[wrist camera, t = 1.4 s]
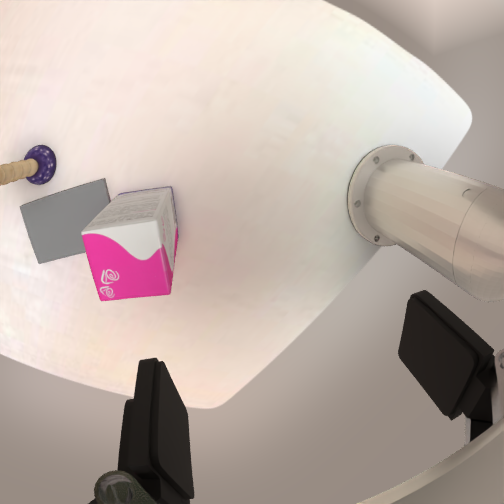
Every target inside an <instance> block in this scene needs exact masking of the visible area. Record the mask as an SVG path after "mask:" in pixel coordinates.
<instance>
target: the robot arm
mask: <svg viewBox="0 0 504 504" xmlns="http://www.w3.org/2000/svg"><path fill="white" fill-rule="evenodd" d="M348 209H349V215H350V218H351V220H352V223H353V225H354V227H355V228H356V230H357V231H358V232H359V234H360V235H361V236H362V237H364V238H365V239H366V240H368V241H369V242H371V243H373V244H375V245H380V246H391V245H396V244H398V245H399V246H401V247H402V248H404V249H405V250H407V251H408V252H410V253H411V254H413V255H414V256H416V257H417V258H419V259H420V260H422V261H423V262H425V263H426V264H427V265H429V266H430V267H432V268H433V269H435V270H436V271H437V272H439V273H440V274H442V275H443V276H444V277H446V278H447V279H449V280H450V281H451V282H453V283H454V284H455V285H457V286H458V287H460V288H461V289H463V290H464V291H465V292H467V293H468V294H469V295H471V296H473V297H474V298H477V299H479V300H482V301H486V302H495V301H501V300H504V189H502V188H499V187H496V186H493V185H490V184H487V183H484V182H481V181H478V180H475V179H472V178H469V177H466V176H463V175H459V174H456V173H453V172H449V171H445V170H442V169H439V168H435V167H431V166H427V165H425V164H424V163H423V161H422V160H421V158H420V157H419V156H418V155H417V154H416V153H415V152H413V151H412V150H410V149H408V148H405V147H402V146H397V145H386V146H382V147H379V148H377V149H375V150H373V151H372V152H370V153H369V154H368V155H367V156H366V157H364V158H363V160H362V161H361V162H360V164H359V165H358V166H357V168H356V170H355V172H354V174H353V176H352V179H351V182H350V186H349V192H348ZM493 352H494V349H493V348H491V346H489V345H488V344H487V343H486V342H485V341H484V340H483V339H482V338H481V337H480V336H479V335H478V334H476V333H475V332H474V331H473V330H472V329H471V328H470V327H469V326H468V325H466V324H465V323H464V322H463V321H462V320H461V319H459V318H458V317H457V316H456V315H455V314H454V313H453V312H452V311H450V310H449V309H448V308H447V307H446V306H445V305H443V304H442V303H441V302H440V301H439V300H437V299H436V298H435V297H434V296H433V295H432V294H430V293H429V292H428V291H426V290H423V291H420V292H417V293H414V294H412V295H411V297H410V299H409V300H408V303H407V309H406V314H405V320H404V326H403V331H402V336H401V341H400V346H399V350H398V354H399V358H400V359H401V361H402V362H403V363H404V364H405V366H406V367H407V368H408V369H409V371H410V372H411V373H412V374H413V376H414V377H415V378H416V379H417V381H418V382H419V383H420V385H421V386H422V387H423V388H424V390H425V391H426V392H427V394H428V395H429V396H430V398H431V399H432V400H433V401H434V403H435V404H436V405H437V407H438V408H439V409H440V411H441V412H442V413H443V414H444V415H445V416H448V417H449V418H450V419H451V420H453V419H455V418H456V417H458V416H459V415H461V414H462V412H463V413H464V414H465V416H466V417H465V442H464V447H463V448H462V449H460V450H458V451H457V452H455V453H454V454H452V455H451V456H449V457H448V458H446V459H444V460H443V461H442V462H439V463H438V464H436V465H435V466H433V467H431V468H430V469H428V470H426V471H424V472H422V473H421V474H419V475H417V476H415V477H413V478H411V479H410V480H408V481H406V482H404V483H402V484H400V485H398V486H396V487H394V488H392V489H389V490H387V491H385V492H383V493H381V494H378V495H376V496H374V497H372V498H369V499H367V500H364V501H362V502H360V503H357V504H504V349H502V350H500V351H499V352H498V353H497V354H496V356H494V355H493ZM189 441H190V440H189V424H188V413H187V410H186V407H185V405H184V403H183V401H182V399H181V397H180V395H179V393H178V391H177V389H176V387H175V385H174V383H173V381H172V379H171V376H170V374H169V372H168V370H167V368H166V365H165V363H164V362H163V361H160V362H159V361H158V359H157V358H151V359H144V360H140V361H139V365H138V372H137V379H136V386H135V393H134V399H130V400H127V401H126V403H125V408H124V415H123V423H122V430H121V440H120V449H119V460H118V470H115V471H109V472H107V473H105V474H103V475H102V476H101V477H100V478H99V479H98V480H97V482H96V484H95V487H94V496H95V499H94V500H92V501H91V502H90V503H89V504H190V499H193V498H194V487H193V478H192V466H191V453H190V442H189Z"/></svg>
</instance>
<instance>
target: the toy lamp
mask: <svg viewBox="0 0 504 504" xmlns="http://www.w3.org/2000/svg"><path fill="white" fill-rule="evenodd" d="M55 168H56V158H55V155H54V153H53V151H52V150H51V149H50V148H49V147H47V146H45V145H38V146H35V147H33V148H32V149H31V150H30V151H29V152H28V153H27V154H26V156H25V158H24V160H21V161H18V162H11V163H9V164H2V165H0V185H6V184H8V183H10V182H14V181H17V180H18V179H24V178H27V180H28V181H29V182H31V183H33V184H36V185H41V184H44V183H46V182H48V181H49V180H50V179H51V178H52V176H53V175H54V172H55Z"/></svg>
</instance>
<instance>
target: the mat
mask: <svg viewBox="0 0 504 504" xmlns="http://www.w3.org/2000/svg"><path fill="white" fill-rule="evenodd" d="M110 202H111V201H110V197H109V193H108V189H107V185H106V181H105V178H104V179H101V180H97V181H94V182H90V183H87V184H84V185H80V186H77V187H74V188H71V189H68V190H65V191H61V192H58V193H55V194H52V195H50V196H47V197H44V198H41V199H38V200H35V201H33V202H30V203H27V204H24V205H22V206H20V209H21V213H22V216H23V219H24V223H25V226H26V229H27V232H28V235H29V238H30V241H31V244H32V247H33V250H34V252H35V255H36V258H37V261H38V263H39V264H41V263H45V262H49V261H53V260H57V259H61V258H65V257H69V256H73V255H77V254H81V253H85V252H86V250H85V246H84V242H83V238H82V234H81V231H82V230H83V229H84V228H85V227H86V226H87V225H88V224H89V223H90V222H91V221H92V220H93V219H94V218H95V217H96V216H97V215H98V214H99V213H100V212H101V211H102V210H103V209H104V208H105V207H106V206H107V205H108V204H109V203H110Z"/></svg>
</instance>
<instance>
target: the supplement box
mask: <svg viewBox="0 0 504 504" xmlns="http://www.w3.org/2000/svg"><path fill="white" fill-rule="evenodd" d="M81 234H82V238H83V242H84V246H85V250H86V254H87V258H88V261H89V265H90V268H91V272H92V275H93V279H94V282H95V285H96V288H97V291H98V295H99V298H100V301H109V300H119V299H127V298H137V297H149V296H160V295H169V294H170V293H171V286H172V278H173V270H174V262H175V255H176V248H177V241H178V228H177V220H176V213H175V205H174V198H173V191H172V187H162V188H155V189H148V190H141V191H134V192H127V193H121V194H118V196H116V197H115V198H114V199H113V200H112V201H111V202H110V203H109V204H108V205H107V206H106V207H105V208H104V209H103V210H102V211H101V212H100V213H99V214H98V215H97V216H96V217H95V218H94V219H93V220H92V221H91V222H90V223H89V224H88V225H87V226H86V227H85V228H84V229H83V230H82V231H81Z"/></svg>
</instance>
